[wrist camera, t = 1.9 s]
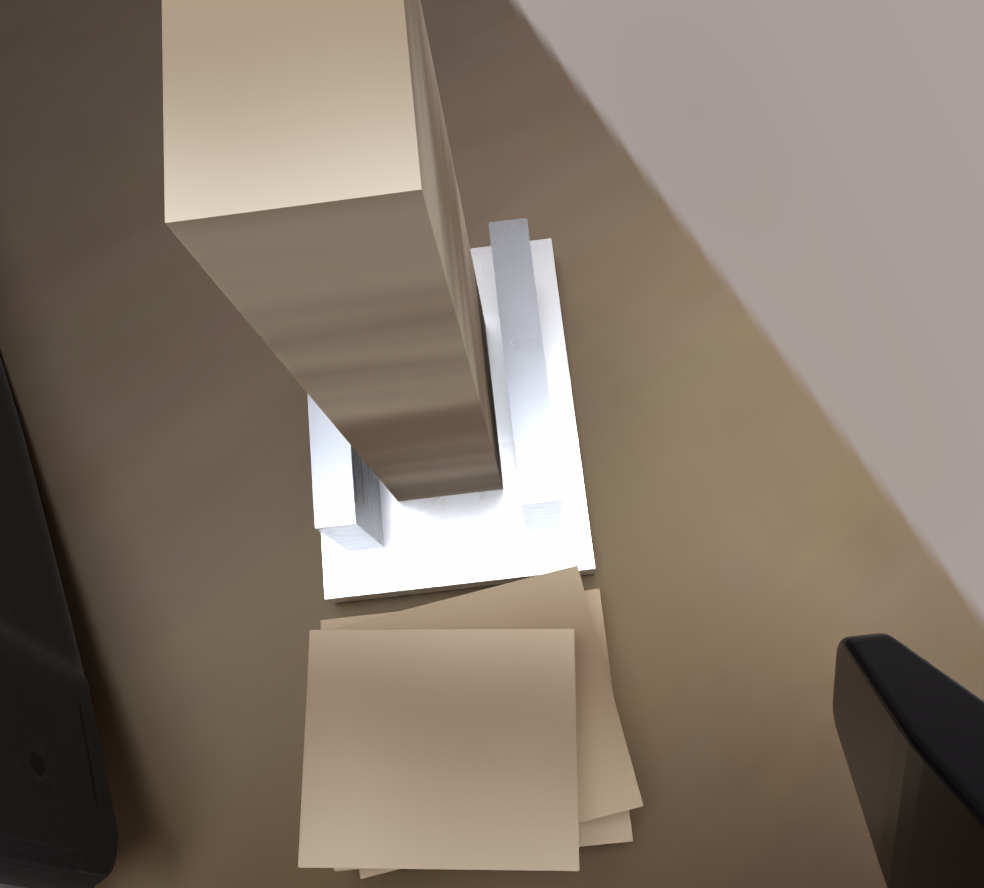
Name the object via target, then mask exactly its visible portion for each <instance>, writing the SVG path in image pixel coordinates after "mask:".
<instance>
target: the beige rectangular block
mask: <svg viewBox="0 0 984 888" xmlns="http://www.w3.org/2000/svg"><path fill="white" fill-rule="evenodd" d="M162 45H163V118H164V190H165V224H166V225H167V226H168V227H169V228H170V230H171V231H172V232H173V233H174V234H175V236H176V237H177V238H178V239H179V240H180V242H181V243H182V244H183V245H184V246H185V248H186V249H187V250H188V251H189V252H190V254H191V255H192V256H193V257H194V258H195V260H196V261H197V262H198V263H199V264H200V266H201V267H202V268H203V269H204V270H205V271H206V273H207V274H208V275H209V276H210V277H211V279H212V280H213V281H214V282H215V283H216V285H217V286H218V287H219V288H220V289H221V291H222V292H223V293H224V294H225V295H226V297H227V298H228V299H229V300H230V301H231V303H232V304H233V305H234V306H235V307H236V308H237V310H238V311H239V312H240V313H241V314H242V316H243V317H244V318H245V319H246V320H247V322H248V323H249V324H250V325H251V326H252V328H253V329H254V330H255V331H256V332H257V334H258V335H259V336H260V337H261V338H262V340H263V341H264V342H265V343H266V344H267V345H268V347H269V348H270V349H271V350H272V351H273V353H274V354H275V355H276V356H277V357H278V359H279V360H280V361H281V362H282V363H283V365H284V366H285V367H286V368H287V369H288V371H289V372H290V373H291V374H292V375H293V377H294V378H295V379H296V380H297V381H298V382H299V384H300V385H301V386H302V387H303V388H304V390H305V391H306V392H307V393H308V394H309V396H310V397H311V398H312V399H313V400H314V402H315V403H316V404H317V405H318V406H319V408H320V409H321V410H322V411H323V412H324V414H325V415H326V416H327V417H328V418H329V419H330V421H331V422H332V423H333V424H334V425H335V427H336V428H337V429H338V430H339V431H340V433H341V434H342V435H343V436H344V437H345V439H346V440H347V441H348V442H349V443H350V445H351V446H352V447H353V448H354V449H355V451H356V452H357V453H358V454H359V455H360V457H361V458H362V459H363V460H364V461H365V462H366V464H367V465H368V466H369V467H370V468H371V470H372V471H373V472H374V473H375V474H376V476H377V477H378V478H379V479H380V480H381V482H382V483H383V484H384V485H385V486H386V488H387V489H388V490H389V491H390V492H391V494H392V495H393V496H394V497H395V498H396V499H397V501H407V500H415V499H424V498H432V497H441V496H449V495H458V494H466V493H475V492H483V491H492V490H500V489H504V488H503V479H502V470H501V461H500V452H499V442H498V433H497V424H496V415H495V406H494V397H493V388H492V379H491V370H490V361H489V352H488V343H487V334H486V325H485V320H484V315H483V310H482V305H481V300H480V295H479V290H478V285H477V280H476V275H475V270H474V265H473V260H472V255H471V250H470V245H469V240H468V235H467V230H466V225H465V220H464V215H463V210H462V205H461V200H460V195H459V190H458V185H457V180H456V175H455V170H454V165H453V160H452V156H451V151H450V146H449V141H448V136H447V131H446V126H445V121H444V116H443V111H442V106H441V101H440V96H439V91H438V86H437V81H436V76H435V71H434V66H433V61H432V56H431V51H430V46H429V41H428V36H427V31H426V26H425V21H424V16H423V11H422V6H421V1H420V0H162Z"/></svg>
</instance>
